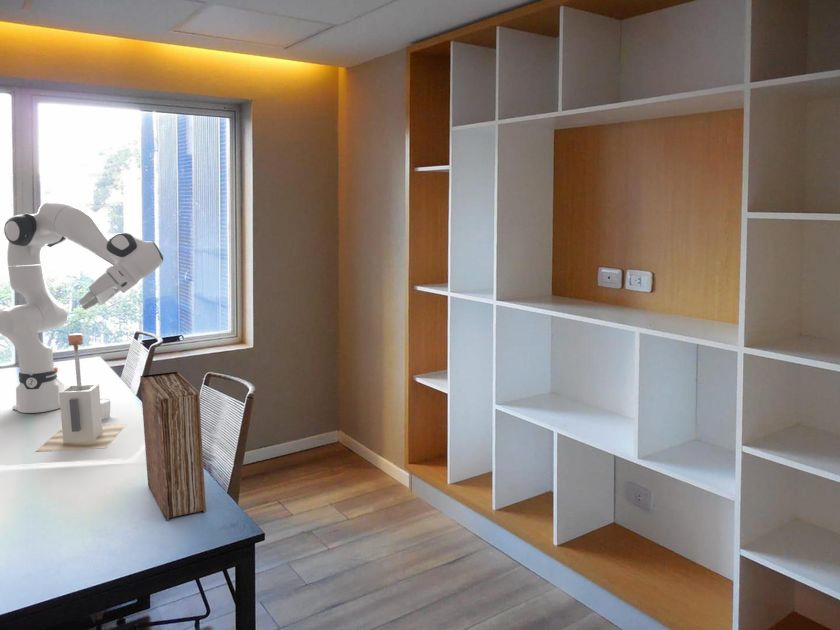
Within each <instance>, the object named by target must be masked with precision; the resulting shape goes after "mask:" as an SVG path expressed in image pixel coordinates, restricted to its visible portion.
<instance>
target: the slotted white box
mask: <svg viewBox="0 0 840 630" xmlns="http://www.w3.org/2000/svg"><path fill="white" fill-rule="evenodd" d="M81 387H82V391H78V390H77V384H69V385H68V386H65V389H63V390H62V391H60V392H59V398H60V408H59V409H60V419H61V429H62V433H63V443H67V442H87V441H95V440H96V439H97V438H98V437H99V435H100V434H101V433H102V432H103V430H102V425H103V419H102V417H101V404H100V399H101V395H100V391H101V390H100V383H93V384H91V383H89V384H87V383H86V384H81Z"/></svg>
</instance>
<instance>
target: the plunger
mask: <svg viewBox="0 0 840 630" xmlns="http://www.w3.org/2000/svg"><path fill="white" fill-rule="evenodd" d="M83 340H84V337H83V334H82V333H70V334H67V341H68V343H67V344H68V346H73V351H74V365H75V366H74V367H75V374H76V375H75V376H76V377H75V378H76V385H77V390H78V391H82V387H81V385H82V377H81V364H80V354H79V353H80V351H79V346H81V345H83V344H84V341H83Z"/></svg>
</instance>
